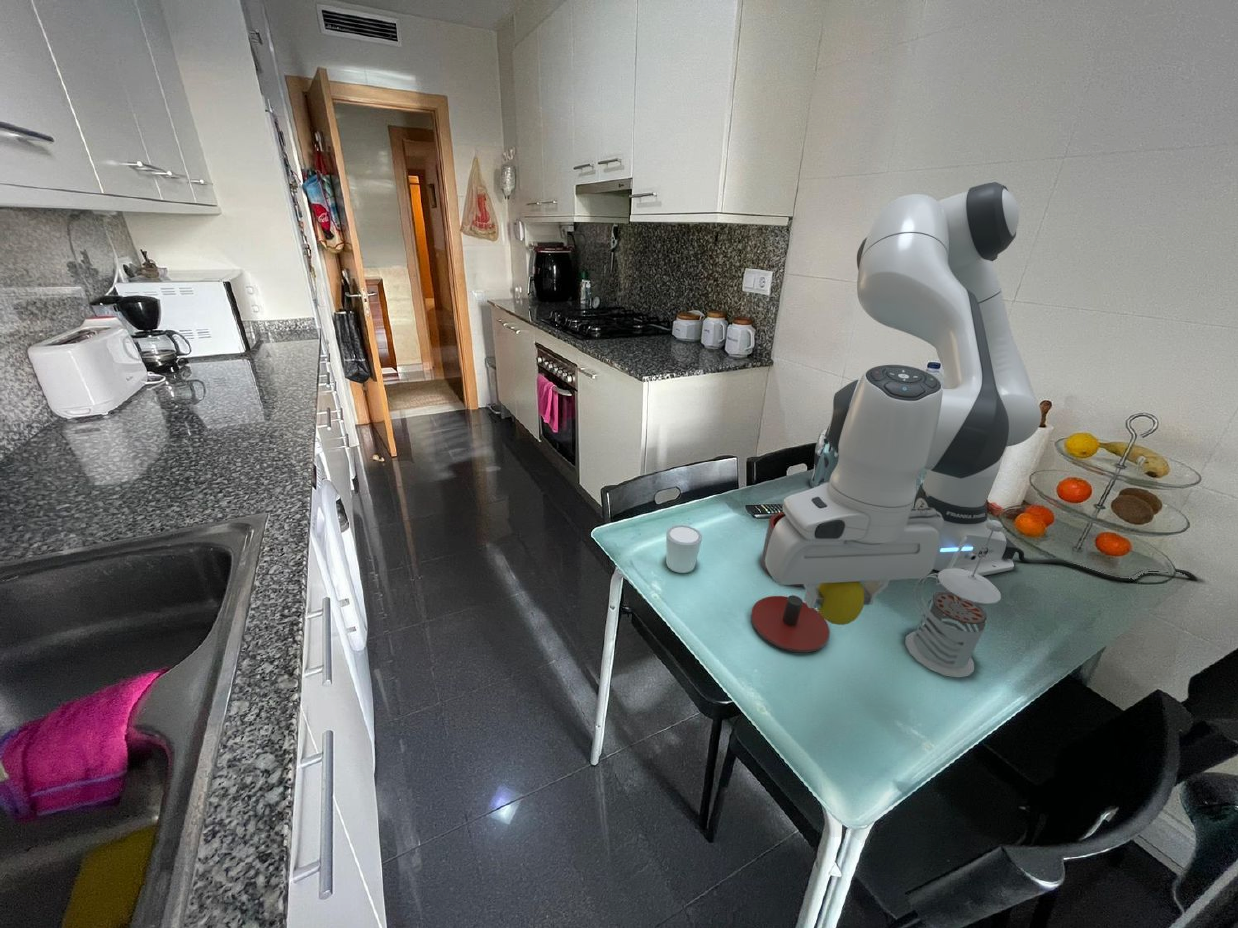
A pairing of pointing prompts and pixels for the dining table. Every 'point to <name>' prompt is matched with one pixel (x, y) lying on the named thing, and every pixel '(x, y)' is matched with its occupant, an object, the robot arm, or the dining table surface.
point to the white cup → (682, 548)
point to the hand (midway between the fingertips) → (837, 603)
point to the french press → (960, 603)
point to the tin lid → (790, 623)
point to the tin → (771, 525)
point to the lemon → (841, 601)
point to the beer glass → (823, 461)
